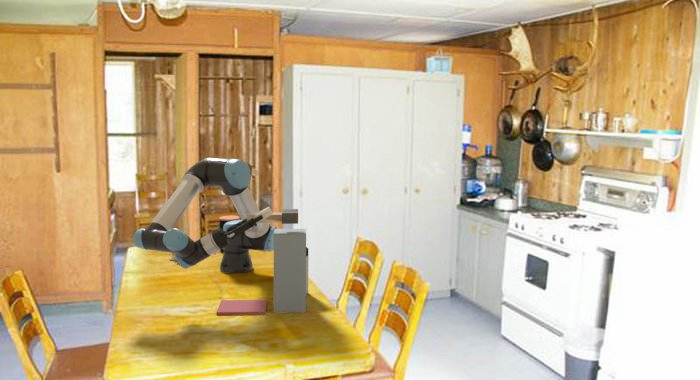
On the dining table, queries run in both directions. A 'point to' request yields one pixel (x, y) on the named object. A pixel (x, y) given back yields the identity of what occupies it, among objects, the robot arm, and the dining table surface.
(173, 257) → the hand bell
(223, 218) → the coffee jar
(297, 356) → the dining table surface
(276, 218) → the stamp
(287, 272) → the pedestal
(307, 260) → the travel mug
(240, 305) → the mat
